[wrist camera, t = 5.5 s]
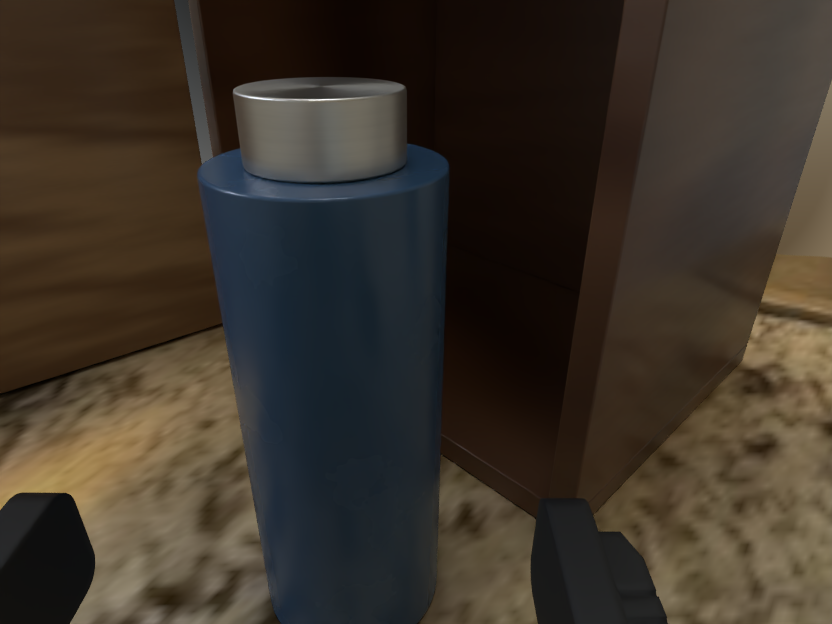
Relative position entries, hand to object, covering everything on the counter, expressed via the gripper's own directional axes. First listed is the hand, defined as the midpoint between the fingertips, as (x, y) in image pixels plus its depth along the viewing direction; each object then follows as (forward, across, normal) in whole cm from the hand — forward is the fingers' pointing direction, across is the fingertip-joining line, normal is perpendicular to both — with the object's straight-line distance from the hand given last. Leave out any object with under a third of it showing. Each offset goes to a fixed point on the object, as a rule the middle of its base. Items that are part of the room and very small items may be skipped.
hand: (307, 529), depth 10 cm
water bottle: (+5, 0, +8) cm, 9 cm away
